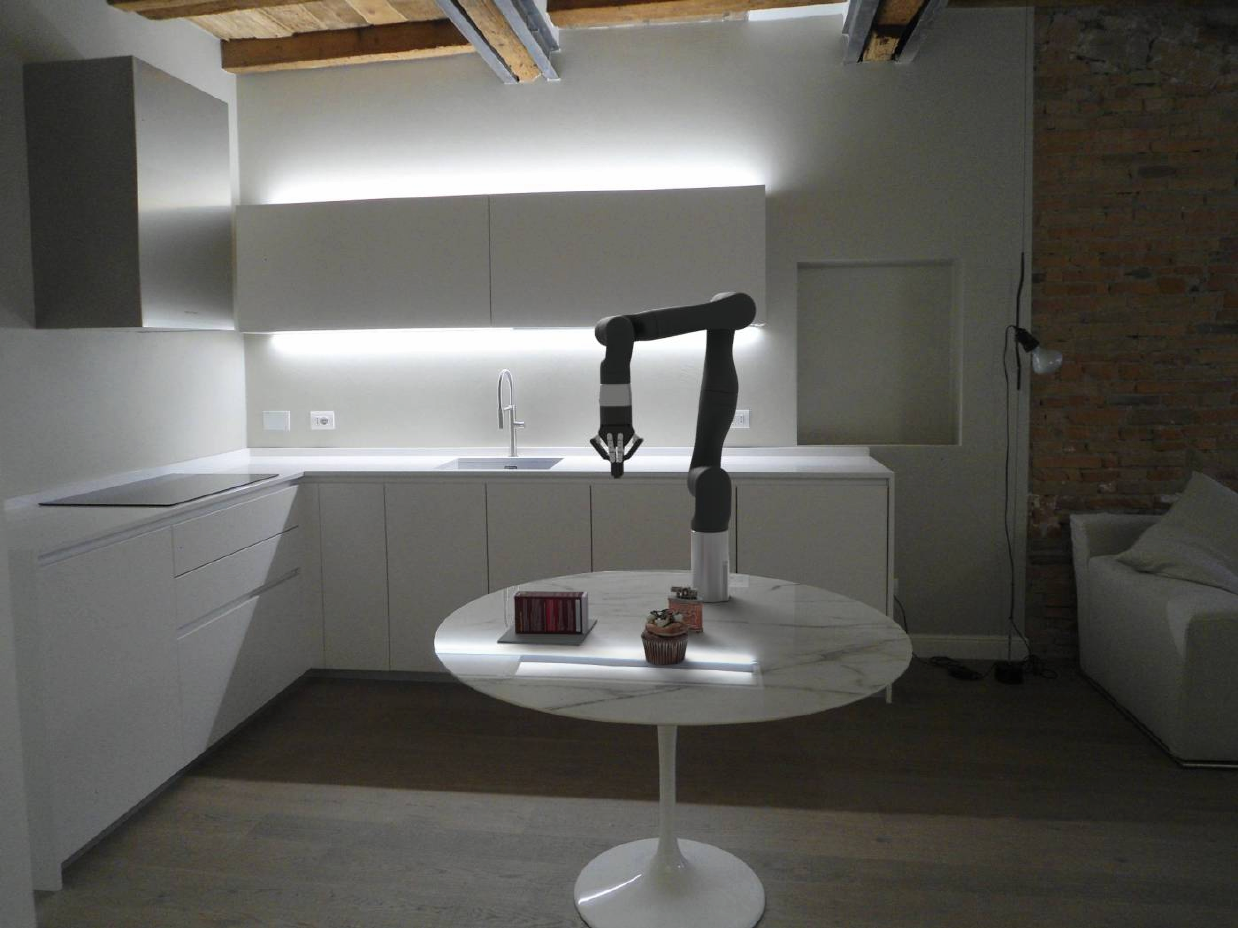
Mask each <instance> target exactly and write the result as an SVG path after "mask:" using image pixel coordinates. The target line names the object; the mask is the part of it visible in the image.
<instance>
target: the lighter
mask: <svg viewBox="0 0 1238 928" xmlns="http://www.w3.org/2000/svg"><path fill="white" fill-rule="evenodd" d="M670 592H671V593H675V594H672V595H671V594H670V595H667V601H668V609H669V610H670V613H671V612H672V613H678V614H681V615H682V621H683V622H684V624H685V625H686V630H687V632H688V635H689V634H690V635H692V634H693V635H701V634H703V633H704V627H703V626H704V625H703V624H704V623H703V622H704V621H703V603H704V602H703V598H700V597H697V594H698V589H695V588H692V586H690V585H686V586H684V587H683V586H680V585H671V587H670Z"/></svg>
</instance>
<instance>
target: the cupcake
mask: <svg viewBox="0 0 1238 928" xmlns="http://www.w3.org/2000/svg"><path fill="white" fill-rule="evenodd" d="M659 613H660V614H659ZM645 618H646V621H647V622H646V623H645V625H644V630H643V631H642V632H641V634H640V639H641V642H642V646H643V652H644V657H645V660H646V662H649V663H651V664H655V665H659V666H670V665H671V666H673V665H676V664H680V663H683V662H684V661H685V658H686V652H687V647H688V643H689V636H690V635H689V634H688V632H687V630H686V625H685V624H684V622H683V621H682V615H681V614H678V613H672V612H671V613H670V610H669V608H665V609H662V610H651V611H650V612H649V614H646V616H645Z"/></svg>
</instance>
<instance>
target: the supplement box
mask: <svg viewBox="0 0 1238 928" xmlns="http://www.w3.org/2000/svg"><path fill="white" fill-rule="evenodd" d="M513 604H514V609H513V610H514V624H515V634H516V633H523V634H524V633H525V634H586V633H587V631H588V629H589V592H588V591H548V590H547V591H543V590H542V591H540V590H539V591H536V590H533V591H532V590H531V591H530V590H529V591H527V590H526V591H524V590H523V591H521V590H519V591H517V592H516V593H515V595H513Z"/></svg>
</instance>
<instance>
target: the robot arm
mask: <svg viewBox="0 0 1238 928" xmlns="http://www.w3.org/2000/svg"><path fill="white" fill-rule="evenodd" d="M756 305H757V304H756V303H755V300H754V299H753V298H752V297H751V296H750V295H749V294H747V293H746V292H745V293H744V292H741V291H725V292H720V293H717V294H716V295H714V296H713V297H712V299H710V302H709V301H708V302H704V303H698V304H691V305H679V306H678V305H677V306H667V307H666V306H665V307H659V308H654V309H649V310H644V311H640V312H636V313H631V314H619V315H612V316H606V317H603V318H601V319H600V320H598V322H597V323H596V325H595V327H594V337H595V340H596V341H597V342H598V343H599V344H600V345H601V346H603V347H605V353H604V355H605V356H604V358H603V360H601V361H600V365H599V384H600V385H599V392H598V393H599V394H598V395H599V397H598V398H599V399H598V403H599V428H598V431H597V434H596V435H595V436H593V437H592V438H590V439H589V443H590V445H591V446H592V447H593V448H594V449H595V451H596V453H598V455H600V457H601V459H602V460H604V461H608V462H609V463H610V475H611V477H613V479H617V480H619V479H622V477H623V476H624V474H625V466H624V465H625V462H626V461H629V460H630V459H631V458H632V457H633V456H634V455H635V453H636V452H637V450H638V449H639V448H640V446H641V445H642V444H643V443H644V437H640V436H639V435H637V433H636V430H635V428H634V426H633V425H634V424H633V392H632V386H631V385H632V384H631V382H632V381H631V377H632V376H631V361H632V357H633V352H634V348H635V347H634V345H635V342H651V341H656V340H663V339H667V338H673V337H677V336H682V335H686V334H690V333H695V332H700V331H701V332H702V331H705V333H706V335H705V336H706V339H705V340H706V341H705V353H704V361H703V368H702V369H703V370H702V378H701V384H700V385H701V386H700V389H699V390H700V391H699V397H698V407H697V408H698V410H697V418H696V427H695V438H694V439H695V440H694V445H693V451H692V455H691V459H690V463H689V464H690V465H689V468H688V472H687V478H686V483H687V484H686V485H687V489H688V491H689V493H690V495H692V497H694V498H695V501H694V515H693V517H691V519H690V561H691V563H690V565H691V566H690V567H691V569H690V570H691V588H695V589H698V594H697V597H700V598H703V603H707V602H708V603H716V602H728V601H729V598H730V594H731V593H730V556H729V553H730V552H729V549H730V548H729V525H730V524H729V523H730V520H731V518H732V517H731V516H732V498H733V497H732V495H733V494H732V493H733V491H732V490H733V489H732V487H733V486H732V480H731V477H730V475H729V473H728V472H727V471H726V470H725V469H724V468H722V457H723V456H722V454H723V448H724V443H725V440H726V437H727V435H728V433H729V431H730V429H731V426H732V423H733V422H734V418H735V415H736V413H737V412H736V411H737V406H738V405H737V404H738V398H739V389H740V387H739V378H738V374H737V373H738V372H737V370H736V366H735V361H734V360H735V359H734V355H733V354H734V352H733V351H734V350H733V349H734V340H735V334H736V331H741V330H744V329H746V328H748V327H749V326H751V324H752V323H753V322H754V321H755V319H756V315H757V306H756ZM631 440H632V442H631ZM602 442H603V443H604V444H605V447H608V448H607V450H608V452H607V450H606V449H605V448H604V447H603V445H602ZM630 442H631V443H632V446H631V447H630V449H629V450H628V451H627V453H626V454H625V450H626V446H628V445H629V443H630Z"/></svg>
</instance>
